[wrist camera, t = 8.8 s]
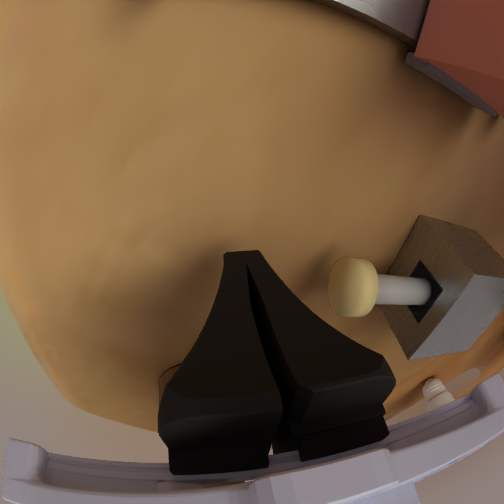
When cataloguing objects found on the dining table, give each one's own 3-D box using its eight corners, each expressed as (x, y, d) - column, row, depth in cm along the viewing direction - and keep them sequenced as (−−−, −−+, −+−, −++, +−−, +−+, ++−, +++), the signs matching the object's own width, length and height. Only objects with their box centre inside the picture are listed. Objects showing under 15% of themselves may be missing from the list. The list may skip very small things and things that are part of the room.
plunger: (422, 256, 15) (447, 289, 13) (399, 293, 16) (420, 326, 14) (343, 244, 14) (367, 284, 12) (322, 288, 15) (340, 329, 13)
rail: (514, 69, 10) (554, 84, 8) (500, 115, 12) (538, 135, 10) (174, -91, 5) (168, -125, 3) (149, -25, 7) (133, -47, 5)
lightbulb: (402, 399, 32) (432, 473, 24) (411, 378, 29) (448, 464, 20) (442, 380, 32) (475, 449, 24) (455, 357, 28) (496, 434, 20)
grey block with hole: (476, 231, 17) (522, 280, 13) (433, 298, 20) (467, 350, 16) (419, 214, 15) (474, 274, 11) (373, 296, 19) (408, 359, 15)
